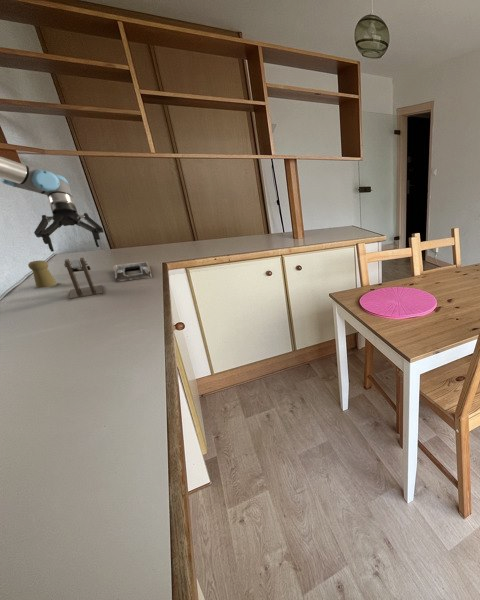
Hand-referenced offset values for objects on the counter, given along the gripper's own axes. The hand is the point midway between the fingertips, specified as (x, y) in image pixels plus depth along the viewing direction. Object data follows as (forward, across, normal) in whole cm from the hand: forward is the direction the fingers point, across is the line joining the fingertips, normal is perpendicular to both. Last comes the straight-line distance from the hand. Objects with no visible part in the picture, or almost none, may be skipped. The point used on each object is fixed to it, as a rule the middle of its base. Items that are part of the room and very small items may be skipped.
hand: (75, 247), depth 129 cm
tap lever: (+15, 0, +7) cm, 16 cm away
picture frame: (+10, -16, -11) cm, 22 cm away
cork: (+10, +12, -11) cm, 19 cm away
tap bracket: (+25, 0, +3) cm, 25 cm away
